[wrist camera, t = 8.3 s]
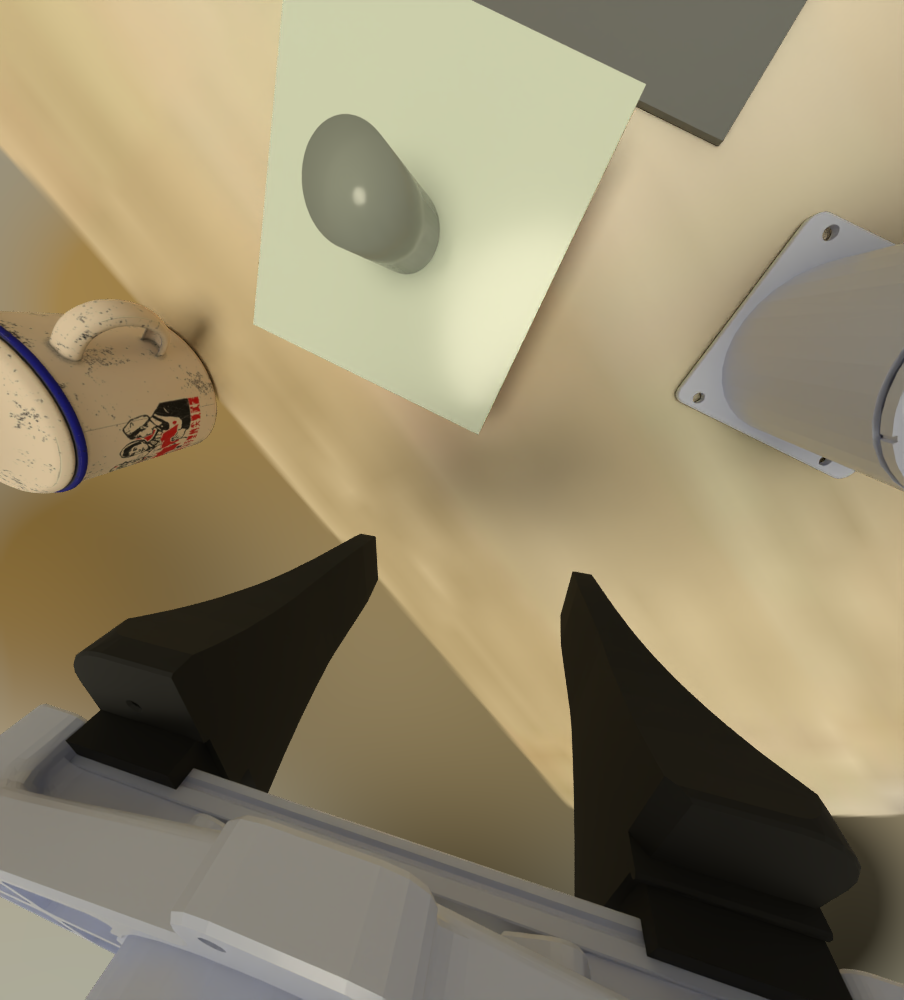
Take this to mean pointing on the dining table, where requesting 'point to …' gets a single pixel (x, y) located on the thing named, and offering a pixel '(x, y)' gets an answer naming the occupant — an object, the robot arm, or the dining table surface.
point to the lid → (426, 189)
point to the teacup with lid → (95, 393)
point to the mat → (671, 49)
